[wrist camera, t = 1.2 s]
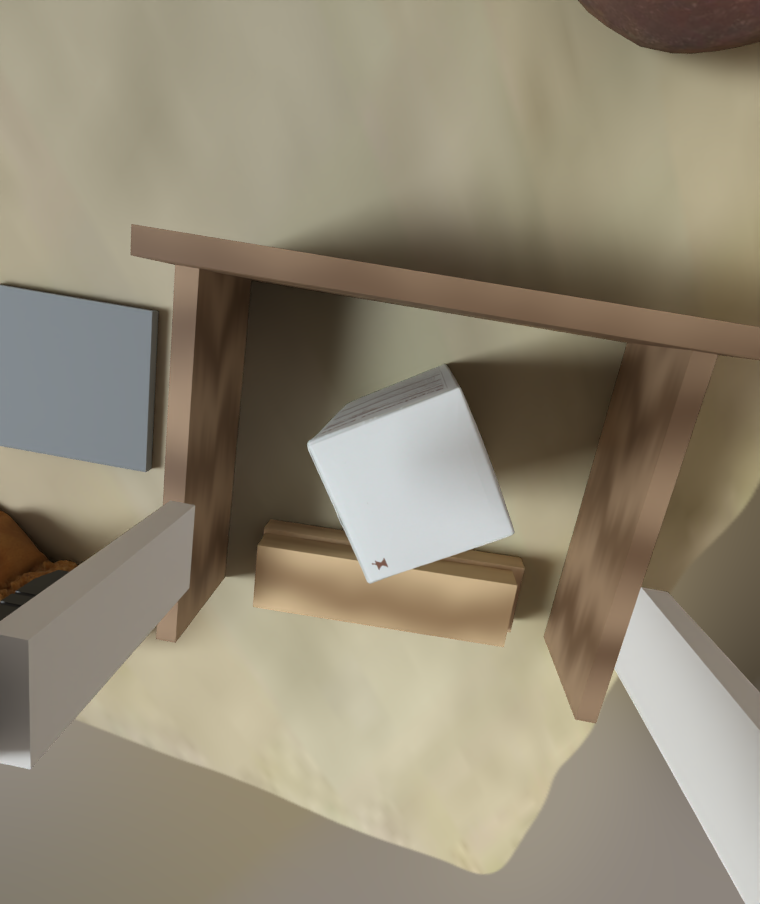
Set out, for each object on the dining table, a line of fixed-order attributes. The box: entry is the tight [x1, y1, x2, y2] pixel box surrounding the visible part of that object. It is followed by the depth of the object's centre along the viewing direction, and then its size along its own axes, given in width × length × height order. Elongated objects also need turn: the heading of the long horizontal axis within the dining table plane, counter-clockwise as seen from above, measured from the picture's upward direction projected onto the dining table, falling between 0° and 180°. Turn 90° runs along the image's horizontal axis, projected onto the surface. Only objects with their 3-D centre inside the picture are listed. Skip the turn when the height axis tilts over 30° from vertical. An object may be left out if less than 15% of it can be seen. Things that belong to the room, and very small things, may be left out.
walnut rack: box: [131, 224, 760, 723], centre depth 29 cm, size 23×26×12 cm
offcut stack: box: [253, 519, 525, 647], centre depth 36 cm, size 5×18×4 cm, turn 83°
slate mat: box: [0, 284, 158, 472], centre depth 35 cm, size 11×11×1 cm
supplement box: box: [307, 364, 514, 584], centre depth 28 cm, size 7×7×13 cm
